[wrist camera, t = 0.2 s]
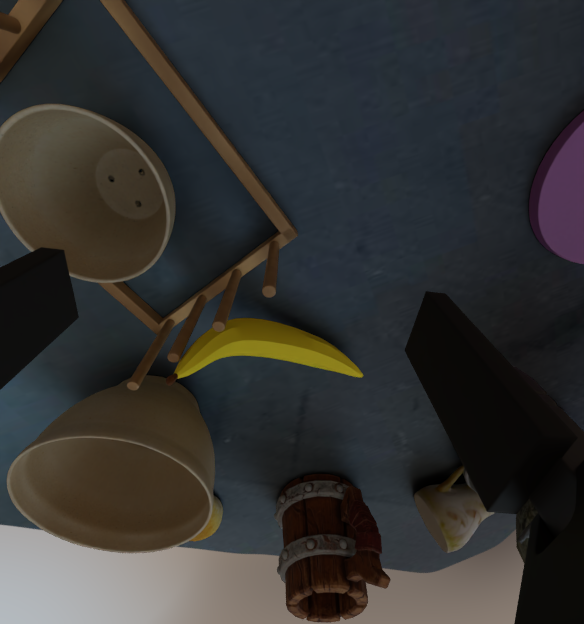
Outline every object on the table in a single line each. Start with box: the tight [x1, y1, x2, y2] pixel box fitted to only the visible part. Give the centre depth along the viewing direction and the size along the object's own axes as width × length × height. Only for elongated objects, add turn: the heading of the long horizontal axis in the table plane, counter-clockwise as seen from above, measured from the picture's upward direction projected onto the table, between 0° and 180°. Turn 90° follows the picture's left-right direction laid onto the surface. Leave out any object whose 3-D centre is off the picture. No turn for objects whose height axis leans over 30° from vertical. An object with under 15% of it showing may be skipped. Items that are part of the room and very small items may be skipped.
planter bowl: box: [7, 375, 215, 553], centre depth 32 cm, size 16×16×11 cm
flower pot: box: [0, 104, 175, 283], centre depth 22 cm, size 10×10×7 cm
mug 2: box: [414, 465, 494, 553], centre depth 42 cm, size 8×10×10 cm
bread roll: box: [189, 495, 223, 541], centre depth 44 cm, size 8×9×4 cm
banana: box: [166, 318, 363, 386], centre depth 28 cm, size 3×19×6 cm, turn 62°
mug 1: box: [274, 474, 390, 622], centre depth 39 cm, size 12×14×15 cm
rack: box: [0, 0, 298, 390], centre depth 21 cm, size 16×21×10 cm
